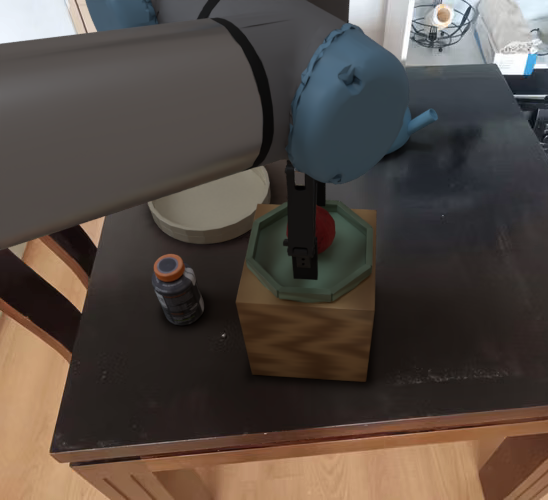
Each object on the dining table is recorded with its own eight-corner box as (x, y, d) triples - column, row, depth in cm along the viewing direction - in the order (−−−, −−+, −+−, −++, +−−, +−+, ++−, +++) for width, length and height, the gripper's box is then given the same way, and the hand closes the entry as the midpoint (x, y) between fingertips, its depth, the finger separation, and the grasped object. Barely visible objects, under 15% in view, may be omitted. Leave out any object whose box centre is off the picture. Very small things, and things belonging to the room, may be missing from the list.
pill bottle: (210, 297, 84) (196, 251, 75) (196, 329, 80) (181, 284, 71) (173, 291, 84) (156, 244, 76) (159, 323, 81) (138, 277, 72)
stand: (252, 374, 75) (233, 292, 60) (268, 283, 86) (255, 193, 70) (365, 382, 75) (376, 301, 60) (368, 289, 85) (377, 199, 70)
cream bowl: (136, 240, 91) (130, 226, 88) (169, 157, 105) (164, 143, 102) (261, 247, 90) (259, 233, 88) (277, 163, 104) (276, 149, 101)
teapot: (353, 103, 117) (355, 49, 107) (442, 125, 112) (453, 70, 103) (318, 159, 105) (317, 104, 95) (417, 185, 101) (427, 130, 91)
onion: (325, 274, 64) (325, 229, 58) (280, 261, 65) (276, 216, 59) (341, 239, 67) (342, 193, 61) (298, 228, 68) (295, 182, 62)
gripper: (339, 164, 40) (335, 323, 57) (352, 12, 55) (346, 174, 72) (239, 159, 40) (265, 318, 57) (279, 9, 55) (290, 171, 72)
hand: (310, 238), depth 64 cm, fingers open, 11 cm apart
